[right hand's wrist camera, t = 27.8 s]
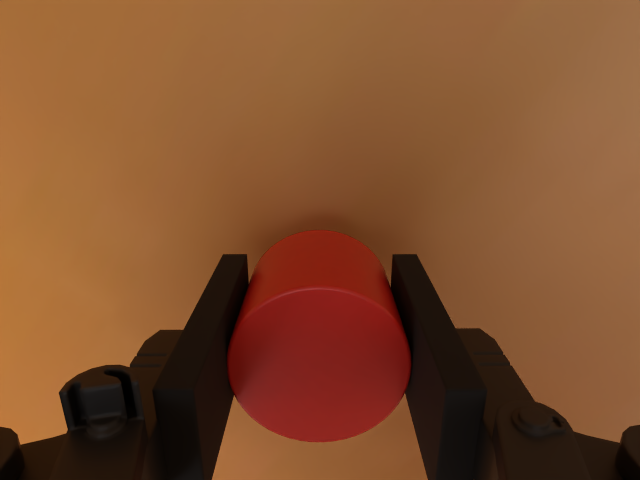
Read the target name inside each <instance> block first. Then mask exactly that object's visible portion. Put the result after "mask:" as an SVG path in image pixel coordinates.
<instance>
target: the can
mask: <svg viewBox="0 0 640 480" xmlns="http://www.w3.org/2000/svg"><path fill="white" fill-rule="evenodd" d="M411 367H412V359H411V351H410V346H409V342H408V339H407V336H406V333H405V330H404V327H403V324H402V321H401V318H400V315H399V312H398V309H397V306H396V303H395V300H394V297H393V294H392V291H391V288H390V285H389V282H388V279H387V276H386V273H385V271H384V268H383V266H382V265H381V263H380V261H379V260H378V258H377V257H376V256H375V254H374V253H373V252H372V251H371V250H370V249H369V248H368V247H366V246H365V245H364V244H362V243H361V242H359V241H358V240H356V239H354V238H352V237H350V236H347V235H345V234H342V233H338V232H334V231H327V230H312V231H304V232H300V233H296V234H294V235H291V236H288V237H286V238H284V239H282V240H281V241H279V242H278V243H276V244H275V245H273V246H272V247H271V248H270V249H269V250H268V251H267V252H266V253H265V254H264V255H263V256H262V257H261V259H260V260H259V262H258V263H257V265H256V267H255V269H254V272H253V274H252V277H251V280H250V283H249V286H248V289H247V292H246V294H245V297H244V300H243V303H242V306H241V309H240V312H239V315H238V318H237V321H236V324H235V327H234V330H233V333H232V336H231V339H230V342H229V346H228V350H227V373H228V379H229V383H230V386H231V388H232V391H233V393H234V395H235V397H236V399H237V401H238V402H239V404H240V405H241V406H242V408H243V409H244V410H245V411H246V412H247V413H248V414H249V415H250V416H251V417H252V418H253V419H254V420H255V421H257V422H258V423H259V424H260V425H262V426H264V427H265V428H267V429H268V430H270V431H273V432H275V433H277V434H279V435H282V436H285V437H288V438H291V439H295V440H300V441H307V442H331V441H338V440H343V439H347V438H350V437H354V436H357V435H359V434H361V433H364V432H366V431H368V430H369V429H371V428H373V427H375V426H376V425H377V424H379V423H380V422H382V421H383V420H384V419H385V418H386V417H387V416H388V415H389V414H390V413H392V411H393V410H394V409H395V408H396V406H397V405H398V404H399V402H400V400H401V399H402V397H403V395H404V393H405V391H406V389H407V386H408V383H409V379H410V376H411Z"/></svg>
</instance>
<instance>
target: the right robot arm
mask: <svg viewBox="0 0 640 480" xmlns="http://www.w3.org/2000/svg"><path fill="white" fill-rule="evenodd" d="M248 286H249V280H248V263H247V254H223V256H222V258H221V259H220V261H219V263H218V265H217V267H216V269H215V271H214V273H213V275H212V277H211V279H210V280H209V282H208V284H207V286H206V288H205V290H204V292H203V294H202V296H201V298H200V299H199V301H198V303H197V305H196V307H195V309H194V311H193V313H192V315H191V317H190V318H189V320H188V322H187V324H186V326H185V328H184V330H160V331H158V332H157V333H155V334H154V335H153V336H151V337H150V338H149V339H147V340H146V341H145V342H144V344H143V345H142V347H141V348H140V350H139V351H138V353H137V356H135V358H134V359H133V361H132V362H131V364H130V367H126V366H122V365H105V366H101V367H96V368H92V369H90V370H87V371H85V372H83V373H81V374H78V375H77V376H75V377H74V378H72V379H71V380H70V381H68V382H67V383H66V384H65V385H64V386H63V388H62V389H61V390H60V392H59V395H60V399H61V403H62V407H63V412H64V416H65V420H66V424H67V428H68V431H67V433H66V434H63V435H59V436H56V437H53V438H48V439H44V440H40V441H35V442H31V443H27V444H22V445H20V442H19V439H18V435H17V434H16V433H15V432H14V431H13V430H12V429H10V428H4V427H0V480H212V476H213V473H214V469H215V465H216V461H217V457H218V454H219V450H220V446H221V442H222V438H223V435H224V431H225V427H226V423H227V420H228V416H229V412H230V408H231V404H232V401H233V397H234V393H233V391H232V388H231V386H230V383H229V379H228V373H227V350H228V346H229V342H230V339H231V336H232V333H233V330H234V327H235V324H236V321H237V318H238V315H239V312H240V309H241V306H242V303H243V300H244V297H245V294H246V292H247V289H248ZM391 291H392V294H393V297H394V300H395V303H396V306H397V309H398V312H399V315H400V318H401V321H402V324H403V327H404V330H405V333H406V336H407V339H408V342H409V346H410V351H411V359H412V367H411V376H410V379H409V383H408V386H407V389H406V391H405V394H406V398H407V402H408V406H409V409H410V413H411V417H412V421H413V425H414V428H415V432H416V436H417V440H418V443H419V447H420V451H421V455H422V459H423V462H424V466H425V470H426V474H427V478H428V480H640V425H636V426H630V427H629V428H627V429H626V430H625V431H624V432H623V434H622V437H621V441H620V443H617V442H613V441H609V440H604V439H600V438H595V437H591V436H587V435H583V434H580V433H577V432H574V431H573V430H572V428H571V427H570V425H569V423H568V422H567V420H566V419H565V418H564V417H562V416H561V415H560V414H559V413H558V412H556V411H555V410H553V409H551V408H549V407H547V406H545V405H543V404H541V403H538V402H535V401H534V399H533V398H532V396H531V395H530V393H529V392H528V390H527V389H526V387H525V385H524V384H523V382H522V381H521V379H520V378H519V376H518V375H517V373H516V372H515V370H514V369H513V367H512V366H510V362H509V361H508V359H507V358H506V356H505V355H503V352H502V350H501V349H500V347H499V345H498V344H497V342H496V341H495V339H493V338H492V337H490V336H489V335H488V334H486V333H485V332H484V331H482V330H481V329H455V327H454V325H453V323H452V321H451V319H450V317H449V315H448V313H447V312H446V310H445V308H444V306H443V304H442V302H441V300H440V298H439V296H438V294H437V292H436V291H435V289H434V287H433V285H432V283H431V281H430V279H429V277H428V275H427V273H426V272H425V270H424V268H423V266H422V264H421V262H420V260H419V258H418V256H417V254H393V258H392V274H391Z"/></svg>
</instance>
